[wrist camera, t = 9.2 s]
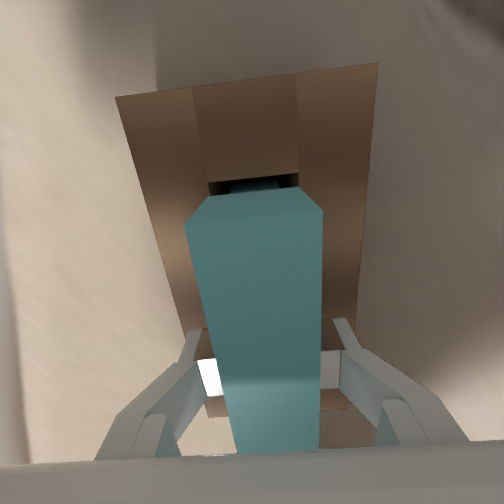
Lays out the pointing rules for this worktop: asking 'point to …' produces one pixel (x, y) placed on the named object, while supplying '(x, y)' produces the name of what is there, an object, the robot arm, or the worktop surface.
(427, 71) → the worktop surface
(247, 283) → the clip
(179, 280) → the slotted wooden block
